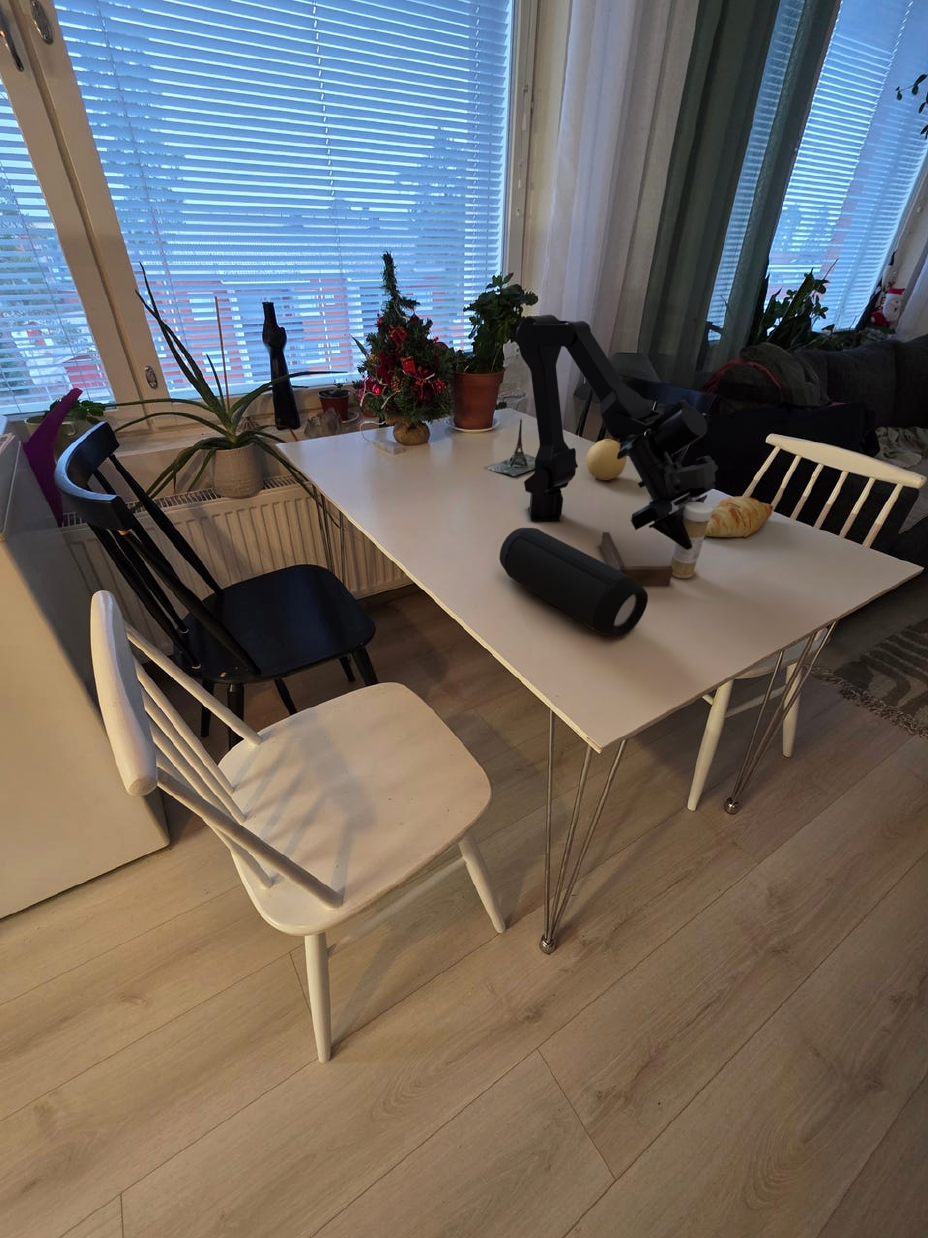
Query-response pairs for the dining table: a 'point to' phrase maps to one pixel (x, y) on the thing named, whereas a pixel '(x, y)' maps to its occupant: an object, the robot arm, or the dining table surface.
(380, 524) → the dining table surface
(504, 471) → the eiffel tower figurine
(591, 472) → the stress ball
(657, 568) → the corner fence
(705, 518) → the sprinkles bottle
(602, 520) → the dining table surface
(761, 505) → the croissant
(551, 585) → the portable speaker
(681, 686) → the dining table surface
